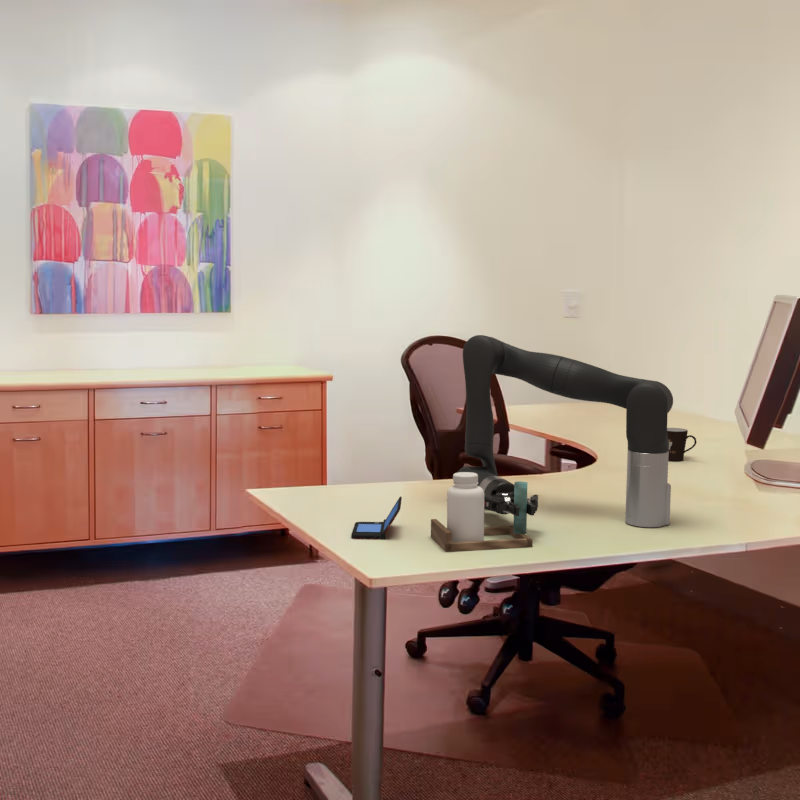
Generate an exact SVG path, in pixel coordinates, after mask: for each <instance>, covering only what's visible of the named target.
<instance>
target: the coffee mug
mask: <svg viewBox="0 0 800 800" xmlns="http://www.w3.org/2000/svg"><path fill="white" fill-rule="evenodd" d="M688 433H689V429H687V428H682V427H667V436H668V440H669V451H668V452H669V454H668V462H669V463H670V462H674V463H675V462H676V463H679V462H683V461H684V457H685V456H684V455H685V453H687V452H689V451H690V450H692V449H693V448H694V447H695V446H696V445H697V438H696V437H695V436H694V435H693V434H692V435H691V434H689V435H688ZM689 438H692V439H693V442H694V443H693V445H692V446H690V447H689V448H686V444H687V440H688V439H689Z"/></svg>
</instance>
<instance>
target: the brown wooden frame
mask: <svg viewBox="0 0 800 800" xmlns="http://www.w3.org/2000/svg"><path fill="white" fill-rule="evenodd" d="M513 484H514V504H516V505H518V506H519V516H514V515H513V525H500V526H484V537H486V536H487V537H488V536H502V535H504V536H505V535H510V536H511V537H512V538H508V539H505V538H504V539H494V540H493V539H492V540H491V539H489V540H487V539H486V540H484V541H469V542H452V532H451V531H449V530H448V529H447V526H445V525H444V524H442V522H440V521H439V519H437V518H433V519H432V518H431V519H430V538H431V539H432V540H433V541H434V542H435V543H437V545H438V546H439V547H441V549H443V551H445V553H450V552H467V551H468V552H469V551H483V550H484V551H485V550H501V549H505V550H506V549H518V548H533V547H534V546H533V543H534V542H533V541H534V540H533V538H531V537H530V536H528V535H527V527H528V525H527V523H528V522H527V521H528V519H527V518H528V514H527V498H528V482H527V481H514V483H513Z"/></svg>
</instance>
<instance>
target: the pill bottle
mask: <svg viewBox="0 0 800 800" xmlns="http://www.w3.org/2000/svg"><path fill="white" fill-rule="evenodd" d="M452 481H453V485H452V486H450V487H448V489H447V494H446V528H447V529H448V530H449V531H451V532H452V542H469V541H485V536H484V527H485V509H484V491H483V489H482V488H481V487H479V486H477V484H478V482H477V481H478V474H476V473H472V472H459V473H457V472H455V473H453V475H452Z"/></svg>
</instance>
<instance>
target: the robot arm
mask: <svg viewBox="0 0 800 800" xmlns="http://www.w3.org/2000/svg"><path fill="white" fill-rule="evenodd" d="M462 364H463V373H464V381H465V383H464V384H465V396H466V397H465V401H466V407H465V408H466V411H465V412H466V415H465V433H464V434H465V435H464V452H465V454H466V455H467V456H469V457H472V458H477V459H479V460H480V461H481V463H482V466H469V465H467V466H462V467H461V468H460V469H459V470H458V471H457V472H456V473H459V472H472V473H476V474H478V481H477V482H478V484H477V486H479V487H481V488H482V489H483V491H484V510H487V511H491V512H495V513H497V514H499V515H509V514H511V515H513V517H514V516H519V506H518V505H516V504H514V483H513V482H511V481H509V480H507V479H506V478H503V477H500V476H499V475H498V472H497V471H498V470H497V466H496V462H495V455H494V435H495V434H494V433H495V422H494V414H493V406H492V400H491V381H492V380H491V379H492V374H493V375H498V376H499V375H500V376H504V377H510V378H514V379H518V380H520V381H523V382H525V383H528V384H529V385H531V386H534V387H535V388H538V389H540V390H542V391H544V392H548V393H550V394H554V395H557V396H561V397H563V398H567V399H572V400H578V401H585V402H594V403H605V404H610V405H614V406H617V407H620V408H623V409H625V410H626V413H625V415H626V417H625V420H626V421H625V422H626V423H625V428H626V431H625V432H626V433H625V435H626V441H627V459H626V463H627V464H626V486H625V487H626V488H625V489H626V490H625V512H624V515H625V519H624V520H625V523H626V524H628V525H631V526H635V527H642V528H659V527H661V528H662V527H664V526H667V525H668V526H669V525H670V524H671V523H670V521H671V518H670V516H671V495H672V494H671V493H672V485H671V484H670V483H668V480H669V479H668V477H669V476H668V474H669V461H668V454H669V452H668V451H669V440H668V436H667V428H668V414H669V413H670V411H671V410H672V408H673V405H674V396H673V393H672V391H671V390H670V389H669V387H668V386H667V385H665V384H664V383H662V382H659V381H657V380H651V379H643V378H637V377H632V376H626V375H623V374H617V373H615V372H612V371H609V370H607V369H604V368H602V367H598V366H595V365H592V364H590V363H586V362H583V361H581V360H577V359H573V358H569V357H565V356H561V355H557V354H553V353H546V352H538V351H529V350H526V349H522V348H519V347H516V346H514V345H511V344H509V343H506V342H504V341H501V340H500V339H497V338H495V337H493V336H488V335H483V334H480V335H479V334H478V335H474V336H472V337H469V338H468V339H467V341H466V342H465V343H464V345H463V348H462ZM538 507H539V495H538V494H533V495H530V497H527V515H529V516H535V514H536V512H538Z"/></svg>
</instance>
